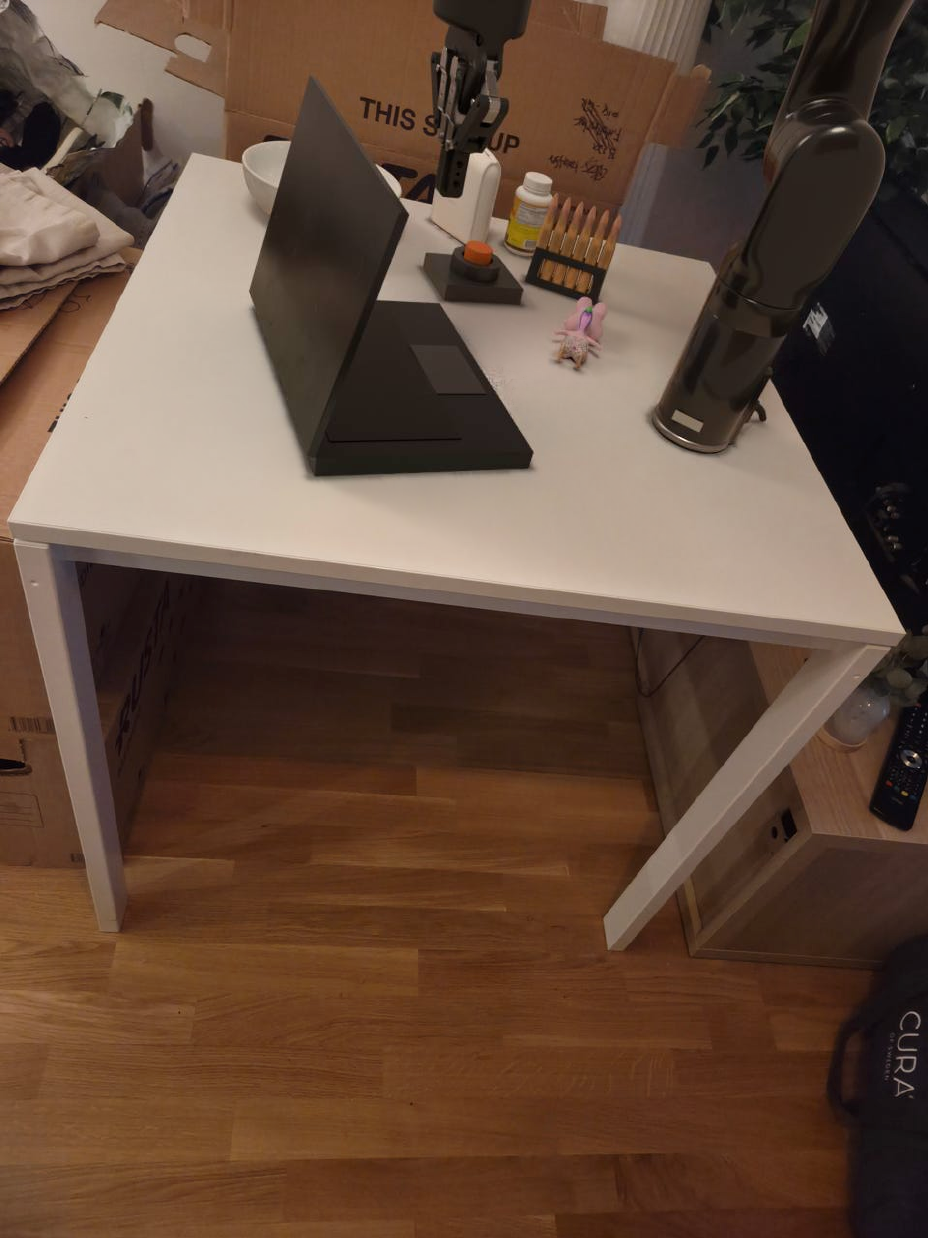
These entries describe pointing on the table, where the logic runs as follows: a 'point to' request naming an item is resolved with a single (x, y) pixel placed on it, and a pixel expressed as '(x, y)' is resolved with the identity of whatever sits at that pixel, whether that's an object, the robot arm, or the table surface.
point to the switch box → (471, 279)
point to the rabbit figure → (582, 330)
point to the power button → (478, 252)
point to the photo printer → (470, 201)
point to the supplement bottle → (528, 214)
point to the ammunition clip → (567, 256)
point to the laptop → (417, 402)
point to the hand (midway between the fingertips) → (447, 193)
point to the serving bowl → (278, 172)
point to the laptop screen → (323, 260)
